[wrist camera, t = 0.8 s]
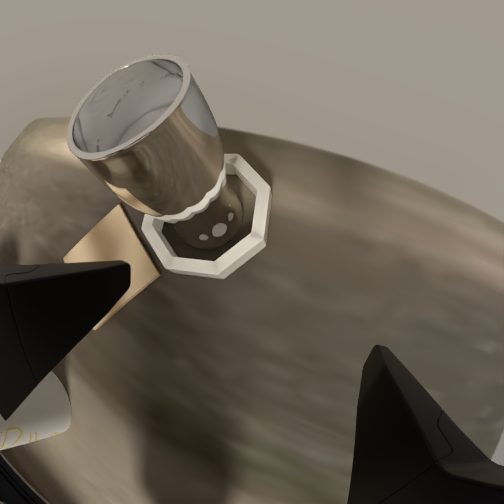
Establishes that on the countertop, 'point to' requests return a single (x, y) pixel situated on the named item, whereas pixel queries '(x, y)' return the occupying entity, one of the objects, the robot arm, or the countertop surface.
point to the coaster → (116, 253)
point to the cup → (38, 415)
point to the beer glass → (158, 148)
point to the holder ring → (237, 252)
